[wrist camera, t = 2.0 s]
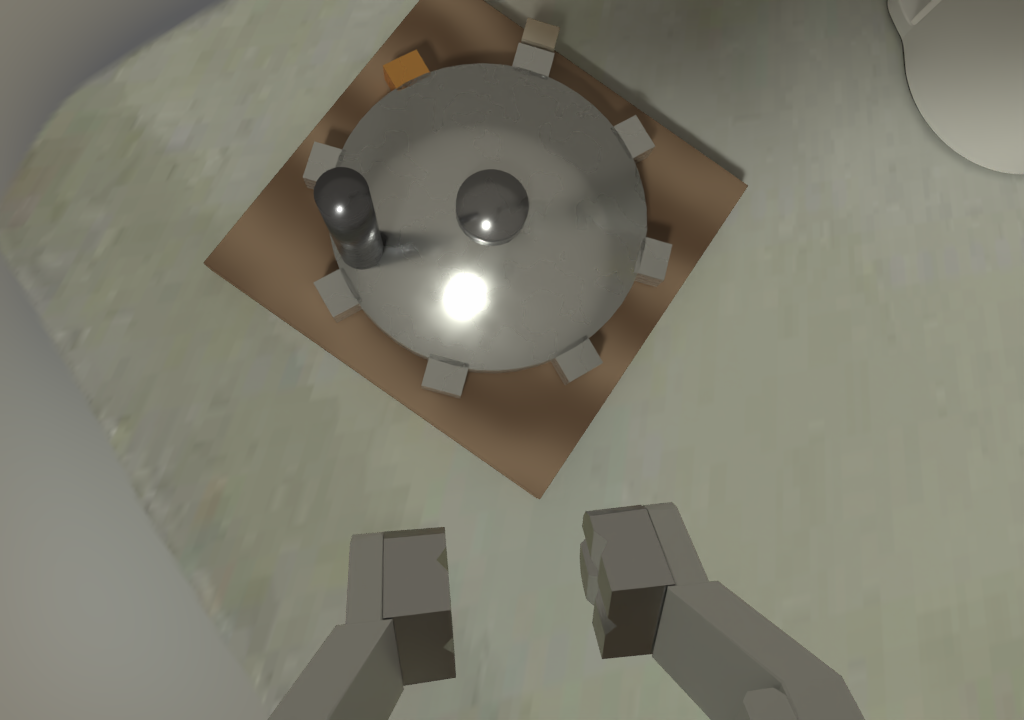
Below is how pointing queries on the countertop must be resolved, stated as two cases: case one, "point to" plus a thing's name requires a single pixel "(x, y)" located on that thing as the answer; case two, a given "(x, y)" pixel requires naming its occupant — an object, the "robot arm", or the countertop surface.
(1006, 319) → the countertop surface
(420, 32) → the sprocket base
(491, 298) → the sprocket
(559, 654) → the countertop surface
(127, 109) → the countertop surface
